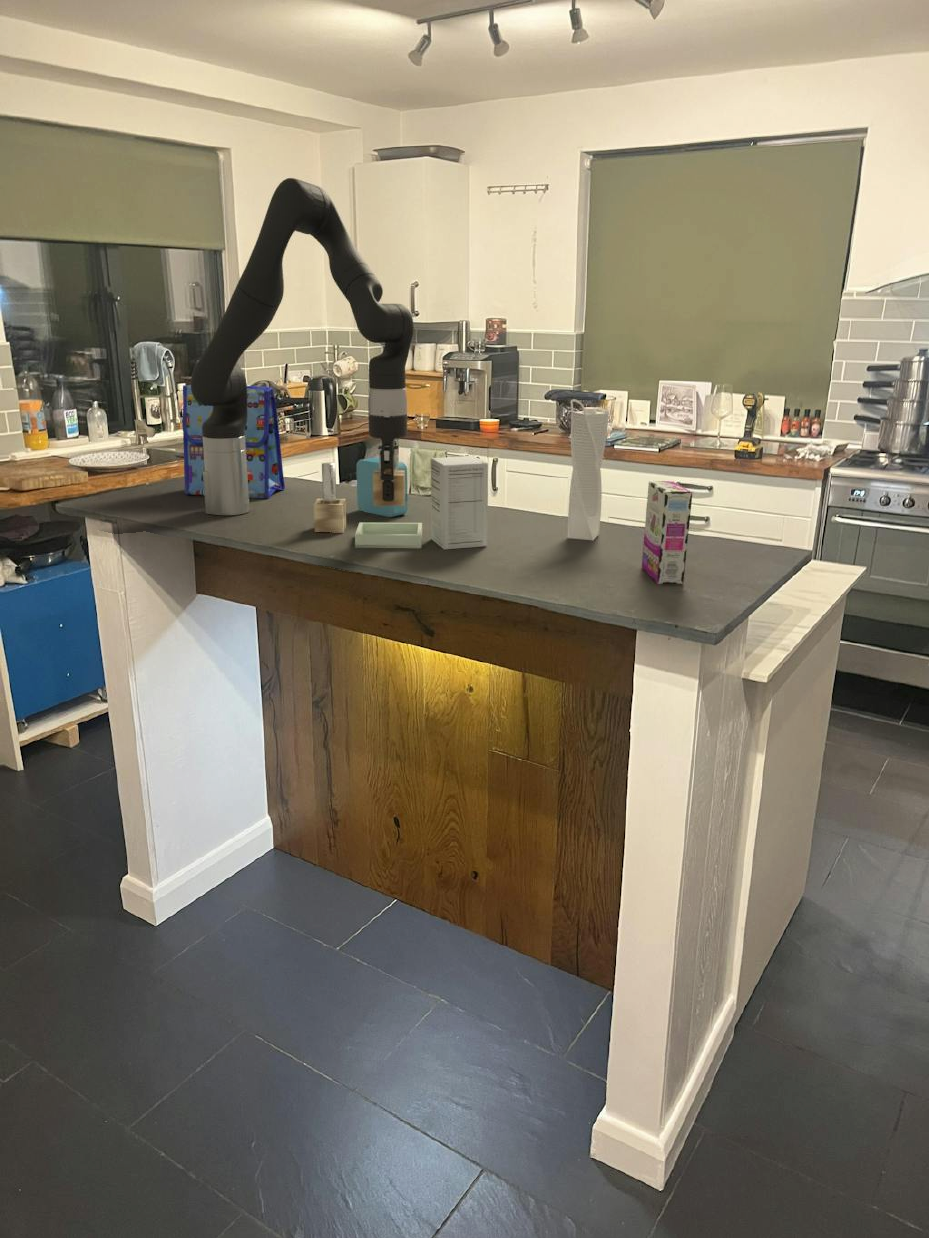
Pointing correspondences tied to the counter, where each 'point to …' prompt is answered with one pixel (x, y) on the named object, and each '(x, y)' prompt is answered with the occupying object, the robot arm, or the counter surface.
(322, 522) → the beech block wide bore
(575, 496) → the skyscraper
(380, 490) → the oak block narrow bore
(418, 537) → the tray
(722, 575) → the counter surface
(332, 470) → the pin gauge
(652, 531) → the candy bar box
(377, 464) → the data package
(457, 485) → the supplement box
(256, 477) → the lunch bag
